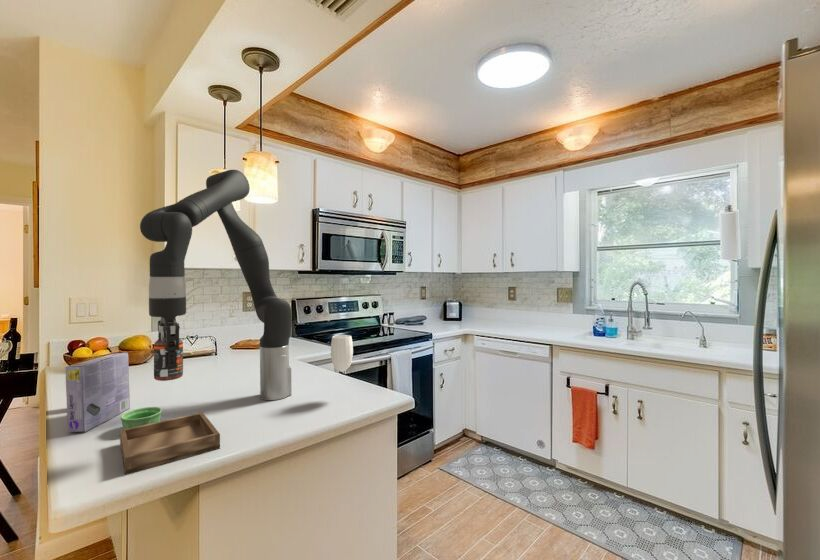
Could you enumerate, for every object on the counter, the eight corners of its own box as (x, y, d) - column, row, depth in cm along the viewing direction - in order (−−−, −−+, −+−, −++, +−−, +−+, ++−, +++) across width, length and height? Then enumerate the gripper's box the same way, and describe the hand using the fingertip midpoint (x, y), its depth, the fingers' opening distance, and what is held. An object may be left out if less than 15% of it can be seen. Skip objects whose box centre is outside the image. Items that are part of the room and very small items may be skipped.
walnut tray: (202, 424, 103) (202, 412, 103) (220, 448, 89) (219, 433, 89) (120, 444, 92) (119, 430, 91) (125, 474, 78) (124, 458, 78)
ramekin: (116, 438, 95) (115, 421, 95) (126, 425, 103) (126, 409, 103) (158, 432, 98) (158, 416, 98) (165, 420, 107) (164, 404, 107)
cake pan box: (116, 407, 116) (115, 350, 116) (133, 407, 117) (132, 350, 116) (64, 434, 97) (63, 366, 97) (85, 433, 98) (83, 366, 97)
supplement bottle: (169, 382, 87) (168, 333, 87) (147, 381, 88) (146, 332, 88) (189, 375, 93) (188, 329, 92) (168, 374, 94) (167, 329, 94)
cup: (342, 393, 129) (342, 333, 129) (357, 397, 125) (357, 335, 125) (326, 399, 124) (325, 336, 123) (341, 404, 119) (341, 339, 119)
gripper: (191, 296, 87) (192, 368, 87) (180, 293, 98) (181, 358, 98) (152, 298, 82) (153, 374, 82) (145, 295, 93) (146, 362, 93)
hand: (168, 365), depth 90 cm, fingers closed on supplement bottle, 6 cm apart
